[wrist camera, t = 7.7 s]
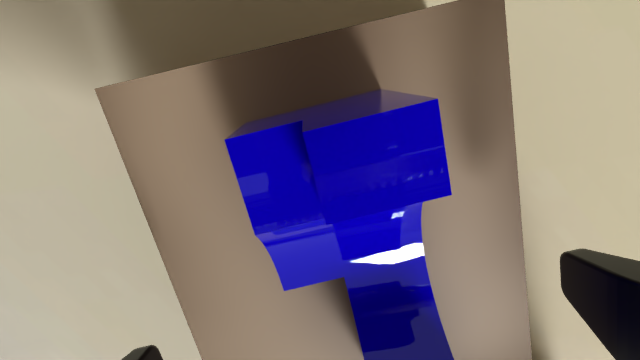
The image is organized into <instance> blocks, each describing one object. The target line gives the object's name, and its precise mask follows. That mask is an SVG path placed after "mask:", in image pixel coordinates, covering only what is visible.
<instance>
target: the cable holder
mask: <svg viewBox="0 0 640 360" xmlns="http://www.w3.org/2000/svg"><path fill="white" fill-rule="evenodd" d="M224 140H225V144H226V147H227V150H228V153H229V156H230V159H231V162H232V165H233V169H234V172H235V175H236V178H237V181H238V184H239V187H240V190H241V193H242V197H243V200H244V203H245V206H246V209H247V212H248V215H249V218H250V221H251V225H252V228H253V231H254V234H255V236H256V237H257V238H258V239H259V240H260V241H261V242H262V243H263V245H264V246H265V248H266V249H267V251H268V253H269V255H270V257H271V259H272V261H273V263H274V265H275V268H276V270H277V273H278V275H279V278H280V281H281V284H282V287H283V290H284V291H287V290H291V289H296V288H300V287H304V286H308V285H313V284H317V283H321V282H325V281H329V280H334V279H338V278H342V277H344V279H345V283H346V287H347V291H348V295H349V299H350V303H351V307H352V311H353V315H354V319H355V324H356V328H357V332H358V336H359V340H360V345H361V349H362V353H363V358H364V360H454V358H453V355H452V352H451V349H450V347H449V344H448V341H447V338H446V335H445V332H444V329H443V326H442V323H441V320H440V316H439V313H438V310H437V306H436V303H435V299H434V295H433V292H432V288H431V284H430V279H429V275H428V270H427V266H426V260H425V255H424V248H423V241H422V230H421V211H422V204H423V202H425V201H429V200H433V199H438V198H442V197H446V196H450V195H452V192H451V185H450V178H449V171H448V164H447V157H446V151H445V144H444V137H443V130H442V123H441V116H440V109H439V102H438V98H432V97H426V96H420V95H414V94H408V93H402V92H396V91H390V90H384V89H379V90H375V91H371V92H367V93H363V94H359V95H355V96H351V97H347V98H343V99H339V100H335V101H331V102H327V103H323V104H319V105H315V106H311V107H307V108H303V109H299V110H295V111H291V112H287V113H283V114H279V115H275V116H271V117H267V118H263V119H259V120H255V121H251V122H247V123H245V124H243V125H242V126H241V127H240V128H238V129H237V130H236V131H235V132H233V133H232V134H231V135H230V136H228V137H227V138H226V139H224Z"/></svg>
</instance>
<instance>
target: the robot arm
mask: <svg viewBox="0 0 640 360" xmlns="http://www.w3.org/2000/svg"><path fill="white" fill-rule="evenodd" d="M560 273H561V287H562V291H563V293H564V295H565V297H566V298H567V299H568V301H569V302H570V303H571V304H572V306H573V307H574V308H575V310H576V311H577V312H578V313H579V315H580V316H581V317H582V318H583V320H584V321H585V322H586V323H587V325H588V326H589V327H590V328H591V330H592V331H593V332H594V333H595V335H596V336H597V337H598V339H599V340H600V341H601V342H602V344H603V345H604V346H605V347H606V349H607V350H608V351H609V352H610V353H611V355H612V356H613V357H614V358H615V359H616V360H640V261H637V260H632V259H628V258H623V257H619V256H614V255H610V254H605V253H601V252H596V251H592V250H587V249H576V250H572V251H567V252H564V253H563V254H562V255H561V257H560ZM122 360H163V359H162V356H161V354H160V352H159V350H158V348H157V347H156V346H154V345H149V346H145V347H140V348H137V349H134V350H133V351H132V352H130V353H129V354H128V355H127V356H125V357H124V358H123V359H122Z"/></svg>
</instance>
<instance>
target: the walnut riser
mask: <svg viewBox="0 0 640 360" xmlns="http://www.w3.org/2000/svg"><path fill="white" fill-rule="evenodd" d="M379 89H384V90H390V91H396V92H402V93H408V94H414V95H420V96H426V97H432V98H438V102H439V109H440V116H441V123H442V130H443V137H444V144H445V151H446V157H447V164H448V171H449V178H450V185H451V192H452V195H450V196H446V197H442V198H438V199H433V200H429V201H425V202H423V204H422V211H421V230H422V241H423V248H424V255H425V260H426V266H427V270H428V275H429V279H430V284H431V288H432V292H433V295H434V299H435V303H436V306H437V310H438V313H439V316H440V320H441V323H442V326H443V329H444V332H445V335H446V338H447V341H448V344H449V347H450V349H451V352H452V355H453V358H454V360H532V352H531V339H530V326H529V313H528V300H527V287H526V274H525V261H524V248H523V235H522V222H521V209H520V196H519V183H518V170H517V157H516V144H515V131H514V118H513V105H512V92H511V79H510V66H509V53H508V40H507V27H506V14H505V1H504V0H458V1H453V2H449V3H445V4H441V5H437V6H433V7H429V8H425V9H421V10H417V11H412V12H408V13H404V14H400V15H396V16H392V17H388V18H384V19H380V20H375V21H371V22H367V23H363V24H359V25H355V26H351V27H347V28H343V29H338V30H334V31H330V32H326V33H322V34H318V35H314V36H310V37H306V38H302V39H297V40H293V41H289V42H285V43H281V44H277V45H273V46H269V47H265V48H260V49H256V50H252V51H248V52H244V53H240V54H236V55H232V56H228V57H224V58H219V59H215V60H211V61H207V62H203V63H199V64H195V65H191V66H187V67H182V68H178V69H174V70H170V71H166V72H162V73H158V74H154V75H150V76H145V77H141V78H137V79H133V80H129V81H125V82H121V83H117V84H113V85H109V86H104V87H100V88H96V89H95V91H96V94H97V96H98V99H99V101H100V104H101V106H102V109H103V111H104V114H105V116H106V119H107V121H108V124H109V126H110V129H111V131H112V134H113V136H114V139H115V141H116V144H117V147H118V149H119V152H120V154H121V157H122V159H123V162H124V164H125V167H126V169H127V172H128V174H129V177H130V179H131V182H132V184H133V187H134V189H135V192H136V194H137V197H138V199H139V202H140V204H141V207H142V209H143V212H144V215H145V217H146V220H147V222H148V225H149V227H150V230H151V232H152V235H153V237H154V240H155V242H156V245H157V247H158V250H159V252H160V255H161V257H162V260H163V262H164V265H165V267H166V270H167V272H168V275H169V277H170V280H171V282H172V285H173V288H174V290H175V293H176V295H177V298H178V300H179V303H180V305H181V308H182V310H183V313H184V315H185V318H186V320H187V323H188V325H189V328H190V330H191V333H192V335H193V338H194V340H195V343H196V345H197V348H198V350H199V353H200V356H201V358H202V360H364V358H363V353H362V349H361V345H360V340H359V336H358V332H357V328H356V324H355V319H354V315H353V311H352V307H351V303H350V299H349V295H348V291H347V287H346V283H345V279H344V277H342V278H338V279H334V280H329V281H325V282H321V283H317V284H313V285H308V286H304V287H300V288H296V289H291V290H287V291H284V290H283V287H282V284H281V281H280V278H279V275H278V273H277V270H276V268H275V265H274V263H273V261H272V259H271V257H270V255H269V253H268V251H267V249H266V248H265V246H264V245H263V243H262V242H261V241H260V240H259V239H258V238H257V237H256V236H255V234H254V231H253V228H252V225H251V221H250V218H249V215H248V212H247V209H246V206H245V203H244V200H243V197H242V193H241V190H240V187H239V184H238V181H237V178H236V175H235V172H234V169H233V165H232V162H231V159H230V156H229V153H228V150H227V147H226V144H225V140H224V139H226V138H227V137H228V136H230V135H231V134H232V133H233V132H235V131H236V130H237V129H238V128H240V127H241V126H242V125H243V124H245V123H247V122H251V121H255V120H259V119H263V118H267V117H271V116H275V115H279V114H283V113H287V112H291V111H295V110H299V109H303V108H307V107H311V106H315V105H319V104H323V103H327V102H331V101H335V100H339V99H343V98H347V97H351V96H355V95H359V94H363V93H367V92H371V91H375V90H379Z"/></svg>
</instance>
